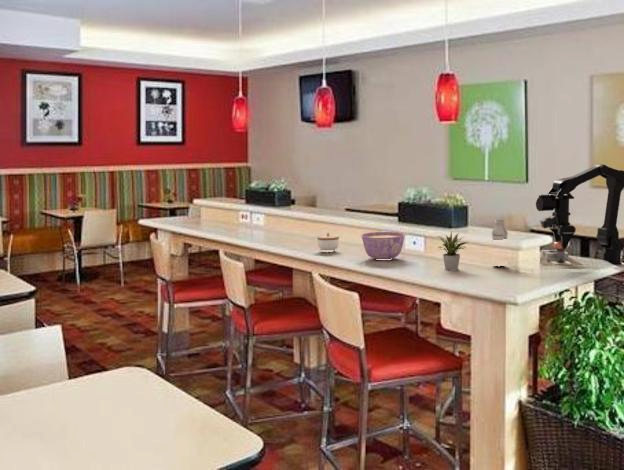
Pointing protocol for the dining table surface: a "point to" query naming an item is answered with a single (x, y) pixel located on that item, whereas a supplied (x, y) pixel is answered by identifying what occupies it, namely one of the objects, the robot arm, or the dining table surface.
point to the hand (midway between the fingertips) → (560, 247)
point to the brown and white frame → (551, 258)
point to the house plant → (451, 252)
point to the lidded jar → (328, 242)
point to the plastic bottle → (499, 231)
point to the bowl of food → (383, 244)
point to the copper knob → (560, 251)
